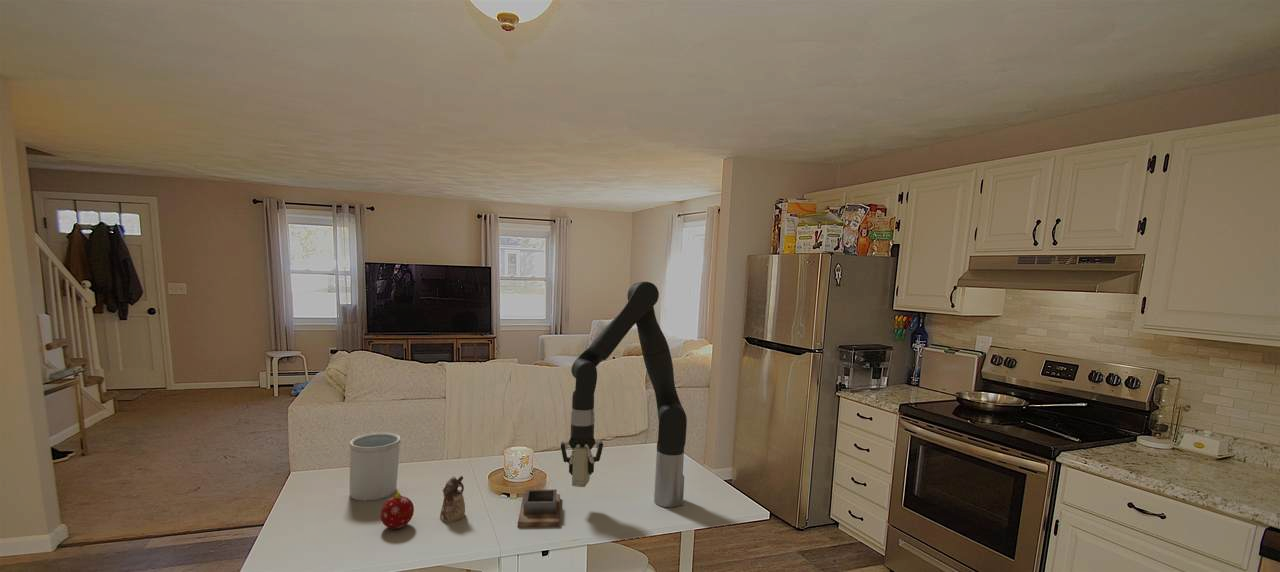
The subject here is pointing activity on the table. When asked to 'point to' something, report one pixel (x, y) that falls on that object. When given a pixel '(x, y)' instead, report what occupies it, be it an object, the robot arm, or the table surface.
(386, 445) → the utensil holder
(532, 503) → the collar
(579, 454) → the skincare box
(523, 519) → the keeper board
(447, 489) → the figurine
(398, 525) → the christmas ornament
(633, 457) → the table surface
